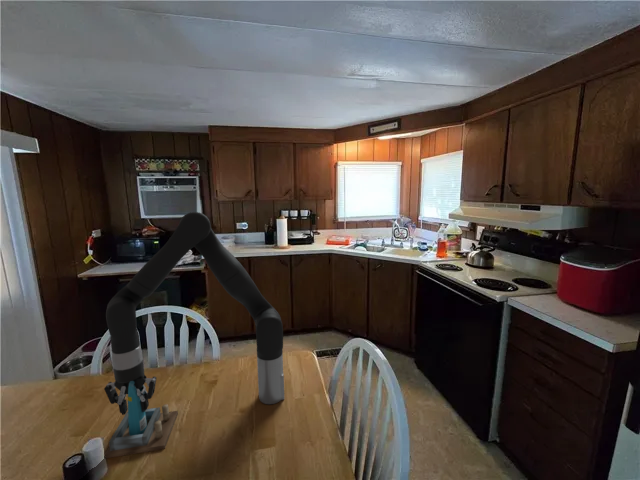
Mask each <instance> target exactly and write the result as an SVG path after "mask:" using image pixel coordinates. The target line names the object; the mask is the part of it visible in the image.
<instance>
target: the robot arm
mask: <svg viewBox="0 0 640 480" xmlns="http://www.w3.org/2000/svg"><path fill="white" fill-rule="evenodd" d="M211 224H212V223H211V221H210V219H209V218H208V216H207V215H205V214H204V213H202V212H198V211H191V212H188V213H185V214H184V216H182V217H181V218H180V221H179V223H178V225H177V227H176V229H175V230H174V232H173V234H172V235H171V236H170V237H169V239H168V240H167V242H166V243H164V245H162V247H161V248H160V249H159V250H158V251H156V253H155V254H154V255H153V256H152V257H151V258H150V259H149V260H148V261H147V262H146V263H145V264H144V265H143V266H142V267H141V268H140V269H139V270H138V272H136V274H135V275H134V276H133V277H132V278H131V280H130V281H129V282H128V283H126V285H125V286H123V287H122V288H121V289H120V290H118V291H117V293H115V295H113V296H112V298H111V299H110V300H109V302H108V303H107V306H106V310H105V311H106V312H105V320H106V321H105V322H106V325H107V329H108V333H109V335H110V347H111V348H110V349H111V364H112V369H113V375H114V376H113V377H114V380H115V381H114V382H112V381H109V382H108V383H107V384H106V385H105V386H104V388H103V389H104V392H105V393H106V396H107V398H108V401H109V402H110V405H113V404H117V405H118V411H119V413H120V414H121V415H122V416H125V415H126V413H127V412H128V400H127V399H126V396H127V395H128V388H129V382H130V381H134V388H135V389H136V393H137V397H139V398H140V400H141V408H142V412H145V411H146V410H147V409H149V406H150V405H149V403H150V402H149V400H151V399H152V397H153V396H154V393H155V389H156V384H157V383H156V382H157V377H156V376H152V377H151V378H149V377H147V376H146V375H145V366H144V365H145V364H144V359H143V358H144V357H143V351H142V348H141V343H140V334H139V330H138V328H137V327H138V325H137V324H138V323H137V311H136V310H137V309H136V308H137V306H138V305H139V304H141V303H142V301H143V300H145V298H149V297H150V296H151V295H152V294H153V293H154V292H155V291H156V290H157V289H158V287H159V286H160V285H161V284H162V283H163V282H164V281H165V280H166V278H168V276H169V274H170V273H171V272H172V271H173V269H174V268H175V267H176V266H177V264H178V263H179V262H180V261H181V260H182V258H183V257H184V256H185V255H186V254H187V253H188V252H189V251H191V250H192V249H193V248H195V249H196V250H197V251H198V252H199V254H200V255H201V256H202V257H203V259H204V261H205V262H206V265H208V267H209V269H210V271H211V272H212V274H213V276H214V277H215V279H216V280H217V282H218V283H219V284H220V285H221V287H222V288H223V290H224V291H226V293H227V294H228V295H229V296H230V297H231V298H233V299H235V300H236V302H239V303H240V304H241V305H242V306H244V307H245V309H246V310H247V312H248V313H249V315H250V316H251V318H252V319H253V321H254V323H255V336H256V337H255V339H256V363H257V384H258V399H259V401H260V402H261V403H262V404H265V405H274V404H277V403H279V402H280V401H283V400H285V376H284V360H283V359H284V358H283V357H284V354H283V349H284V326H283V322H282V317H281V315H280V313H279V312H278V311H277V310H276V308H275V307H274V306H273V305H272V304H271V303H270V302H269V301H268V300H267V299H266V298H265V296H264V295H262V293H261V291H260V290H259V287H257V285H256V283H255V282H254V280H253V279H252V277H251V276H250V274H249V273H248V272H247V270H246V268H245V267H244V266H243V265H242V263H241V262H240V261H239V260H238V259H237V258H236V256H234V254H232V252H230V251H229V250H228V249H227V248H226V247H225V246H224V244H223V243H221V241H220V240H219V238H218V237H217V235H216V233H215V232H214V230H213V229H212V225H211ZM145 383H146V386H147V387H148V390H147V387H146V386H145ZM117 390H118V391H120V392H119V394H118V392H117Z"/></svg>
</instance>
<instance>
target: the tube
mask: <svg viewBox="0 0 640 480" xmlns="http://www.w3.org/2000/svg"><path fill="white" fill-rule="evenodd" d="M127 409H128V410H127V412H128V424H129V435H130V436H132V435H139V434H143V433H144V431H145V429H146V427H147V422H146V415H145V412H142V408H141V400H140V398H139V397H137V393H136V389H135V388H134V381H130V382H129V388H128V394H127Z"/></svg>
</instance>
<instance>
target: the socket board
mask: <svg viewBox="0 0 640 480" xmlns="http://www.w3.org/2000/svg"><path fill="white" fill-rule="evenodd" d="M161 411H162V412H161ZM145 415H146V422H147V427H146V429H145V431H144V433H143V434H139V435H132V436H130V435H129V424H128V411H127V412H126V414H125V415H123V418H122V419H121V421H120V422H119V424H118V425H117V426H118V427H117V428H116V430H115V432H114V433H113V435H112V436H111V438H110V440H109V441H108V445H109V446H108V448H106V449H107V450H106V451H105V453H104V454H105V456H106V458H105V459H109V458H115V457H116V458H117V457H123V456H128V455H134V454H140V453H141V454H142V453H147V452H153V451H159V450H160V451H161V450H164V449H166V447H167V444H168V441H169V439H170V436H171V433H172V430H173V428H174V425H175V422H176V420H177V418H178V415H179V414H178V410H173V411H170V410H169V404H168V403H167V404H166V403H165V404H163V405H162V406H161V407H154V408H153V407H152V408H147V410H146V411H145ZM105 456H104V457H105Z"/></svg>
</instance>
